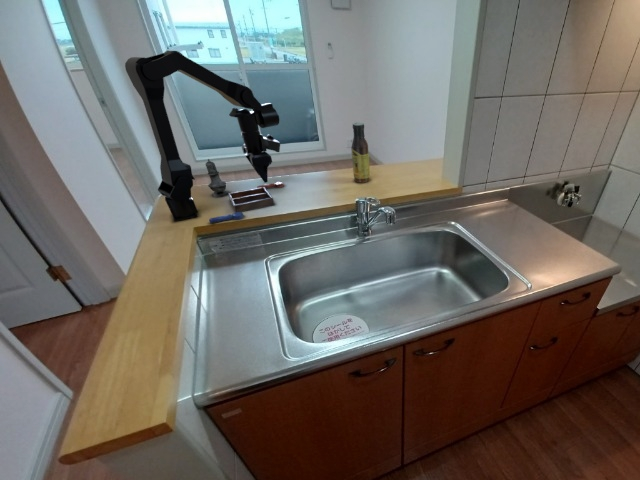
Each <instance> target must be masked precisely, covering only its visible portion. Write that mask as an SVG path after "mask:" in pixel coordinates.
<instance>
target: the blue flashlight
mask: <svg viewBox="0 0 640 480" xmlns="http://www.w3.org/2000/svg"><path fill="white" fill-rule="evenodd" d="M242 219H244V212H236V211H235V212H234V213H232V214H230V213H229V214H226V215H220V216H216V217H210V218H209V219H208V222H209V223H210V224H216V223H221V222H226V221H231V220H234V221H235V220H242Z"/></svg>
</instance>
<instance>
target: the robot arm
mask: <svg viewBox="0 0 640 480" xmlns="http://www.w3.org/2000/svg"><path fill="white" fill-rule="evenodd" d="M124 63H125V64H124V68H125V71H126V74H127V76H128V78H129V80H130V82H131V84H132V86H133V87H134V89H135V90H136V92H137V93H138V95H139V96H140V98H141V100H142V103H143V106H144V108H145V111H146V114H147V118H148V121H149V124H150V127H151V130H152V134H153V136H154V139H155V143H156V146H157V150H158V152H159V156H160V165H159V166H160V167H159V169H160V176H161V182H160V183H159V186H158V188H157V191H158V193H159V194H161V196H163V197H164V201H165V203H166V205H167V207H168V209H169V212H170V213H171V216H172V219H173V222H179V221H183V220H189V219H194V218H198V217H199V216H198V213H199V210H198V207H197V205H196V203H195V200H194V198H193V197H192V188H193V187H194V180H195V179H196V178H195V177H194V176H193V172H192V166H191V164H188V163H185V162H183V160H182V158H181V156H180V153H179V150H178V146H177V143H176V139H175V136H174V133H173V128H172V125H171V122H170V119H169V115H168V112H167V108H166V104H165V100H164V98H165V81H164V78H166V77H169V76H171V75H173V74H174V73H176V72H179V73H181V74H183V75H185V76H187V77H189V78H190V79H192V80H194V81H196V82H198V83H200V84H202V85H204V86H206V87H207V88H209V89H211V90H213V91H215V92H217V94H219V95H220V96H221V97H222V98H223V99H225V100H226V101H227V102H228V103H230V104H231V105H233V106H235V107H232V109H231V111H230V112H229V114H228V116H230V117H231V118H236V120H237V123H238V126H239V130H240V136H241V139H242V141H243V144H242V145H241V150H242V153H243V154H244V157H245V158H246V159H247V161H248V162H249V163H250V165H251V166H252V168H253V169H254V171H255V172H256V174H257V175H258V176H259V177H260V179H261V180H262V181H263V183H264V184H265V183H268V181H269V180H268V172H269V171H268V170H269V169H268V168H269V166H270V165H272V163H273V159H272V156H271V154H269V153H268V152H267V151H273V152H276V153H280V151H281V150H280V149H281V142H280V141H279V140H277V139H275V138H274V136H273V135H272V134H267V135H266V136H263V134H262V133H261V131H260V128H261V129H266V128H270V127H276V126H278V125H279V124H280V116H279V114H278V112H277V110H276V109H275V107H274V105H273V103H271V102H265V103H261V102H260V101H259V100H258V99H257V98H256V97H255V95H254V93H253V90H252V89H251V88H250V87H248V86H246V85H243V84H242V83H237V82H235V81H231V80H228V79H226V78H224V77H222V76H220V75H218V74H216V73H215V72H213V71H211V70H210V69H208V68H206V67H204V66H202V65H201V64H199V63H197V62H195V61H194V60H192V59H190V58H188V57H187V56H185V55H184V54H182V53H181V52H180V51H178V50H165V51H164V52H162V53H159V54H155V55H151V56H148V57H144V56H143V57H142V56H141V57H140V56H132V57H129V58H128V59H127V60H126V61H125V62H124ZM238 107H239V108H243V109H239V108H238ZM250 110H251V111H250Z"/></svg>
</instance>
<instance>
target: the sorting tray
mask: <svg viewBox="0 0 640 480" xmlns="http://www.w3.org/2000/svg"><path fill="white" fill-rule="evenodd" d="M227 196H228V198H229V201H230V203H231V205H232V207H233V209H234V212H235V213H236V212H242V213H244V212H248V211H253V210H257V209H262V208H266V207H267V208H268V207H272V206H275V202H274V198H273V196H272V195H271V194H270V192H269V191H268V190H267V189H265V187H262V188H257V187H256V188H251V189H246V190H240V191H234V192H229V194H228V195H227Z"/></svg>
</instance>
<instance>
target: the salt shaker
mask: <svg viewBox="0 0 640 480" xmlns="http://www.w3.org/2000/svg"><path fill="white" fill-rule="evenodd" d="M205 167H206V171H207V175H208V176H209V179H210V183H209V184H208V185H207V186H208V187H209V189H210V191H212V192H214V193H212V197H214V198H220V197H221V198H223V197H226V196H229V195H228V194H229V193H230V192H229V191H227V190H226V189H227V182H226V181H223V180H222V178H221V177H220V174H219V173H220V171H218V169H217V167H216V164H215V162H214V161H211V160H210V158H207V161H206V162H205Z"/></svg>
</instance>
